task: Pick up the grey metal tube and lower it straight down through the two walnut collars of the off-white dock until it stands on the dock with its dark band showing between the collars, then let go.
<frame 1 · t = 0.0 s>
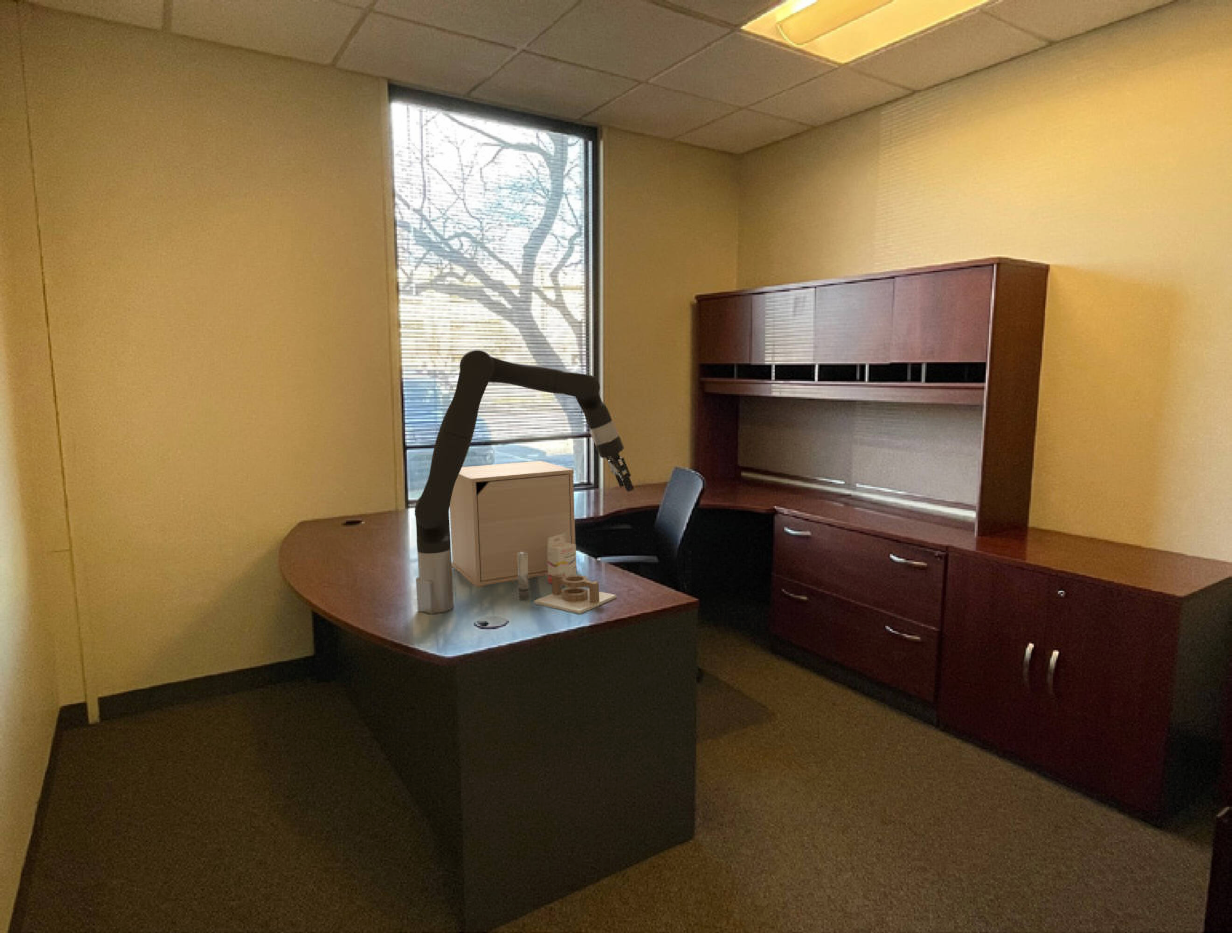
hand: (626, 488, 216), 31 cm above the table, tool tilted 20°, fingers open, 8 cm apart
cabinet: (512, 568, 248), on the table
ink cartridge box: (562, 581, 231), on the table
tube: (524, 598, 214), on the table
dock: (575, 600, 211), on the table
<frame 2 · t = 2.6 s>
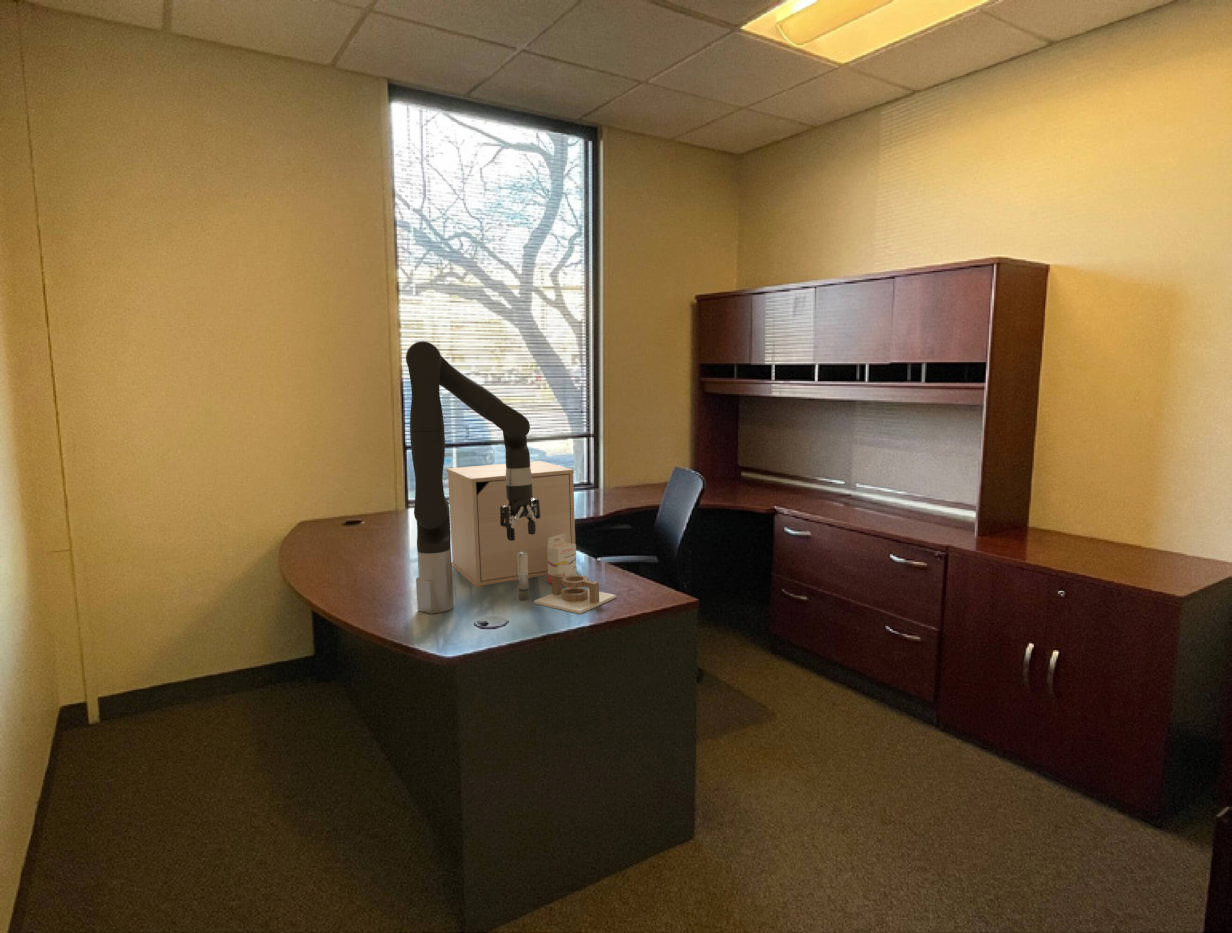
hand: (521, 537, 211), 19 cm above the table, tool pointing down, fingers open, 8 cm apart
nothing on the table moved.
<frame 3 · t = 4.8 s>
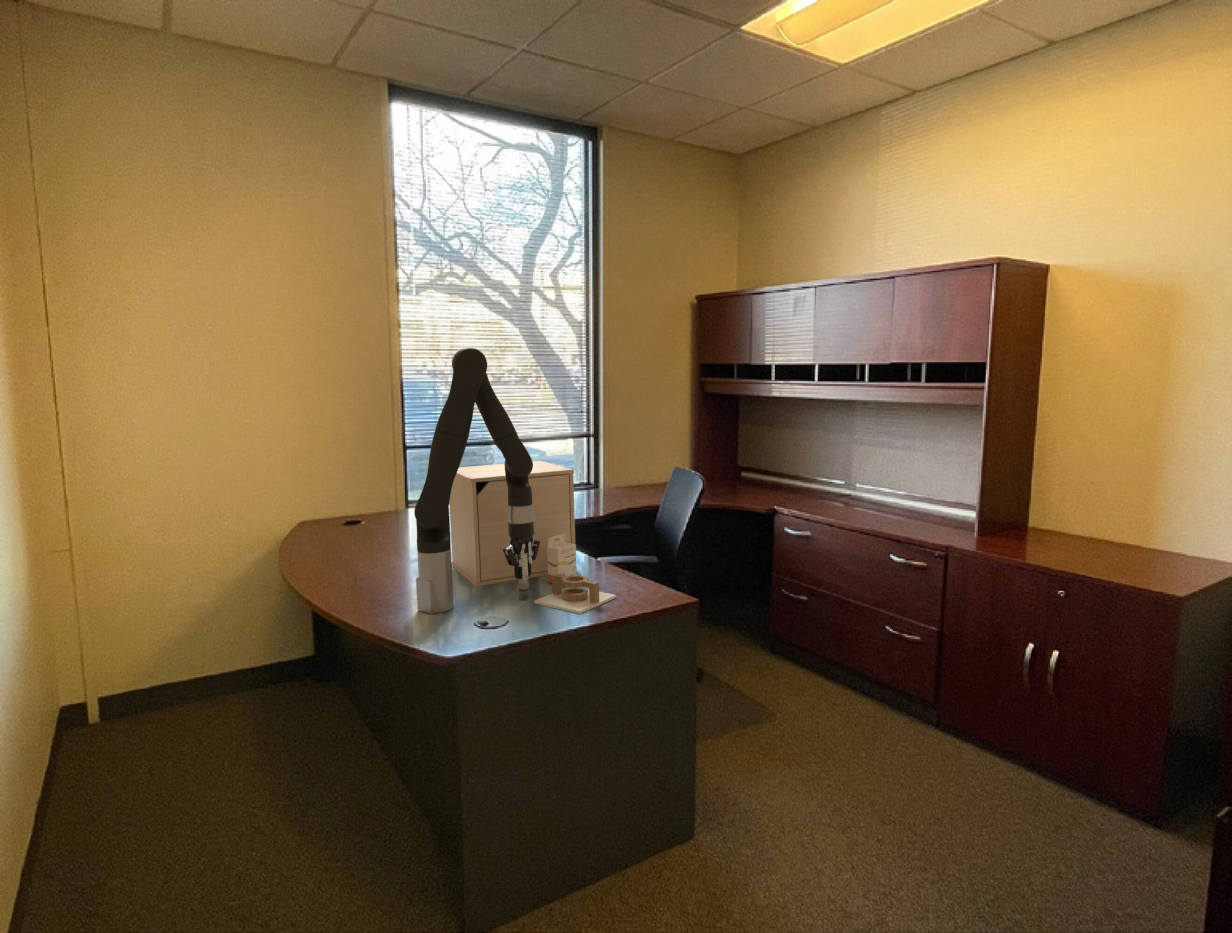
hand: (523, 577, 213), 7 cm above the table, tool pointing down, fingers closed on tube, 3 cm apart
tube: (524, 598, 214), on the table, touching gripper
everything else where it was.
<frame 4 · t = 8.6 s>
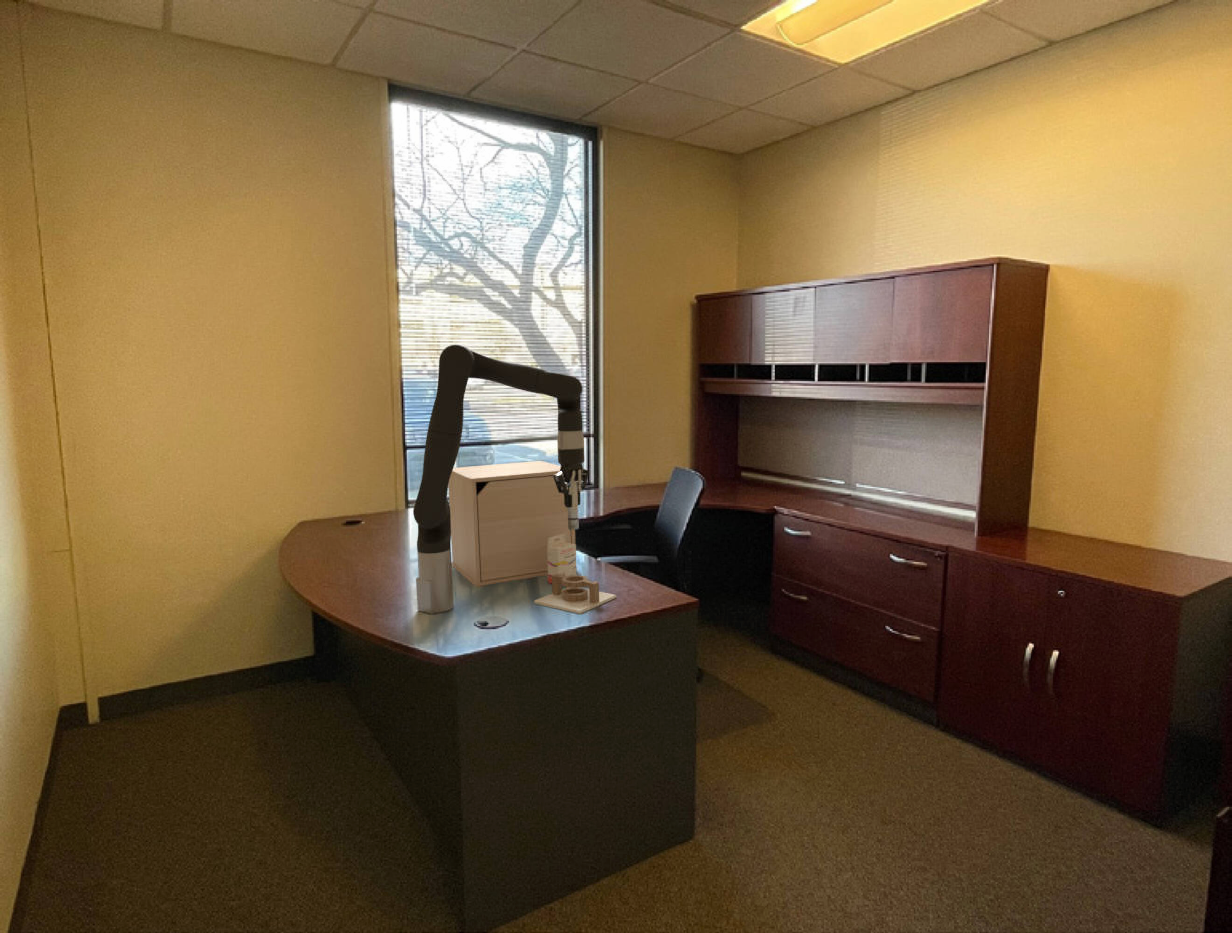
hand: (572, 505, 207), 28 cm above the table, tool pointing down, fingers closed on tube, 3 cm apart
tube: (573, 528, 208), point 21 cm above the table, touching gripper
everything else where it was.
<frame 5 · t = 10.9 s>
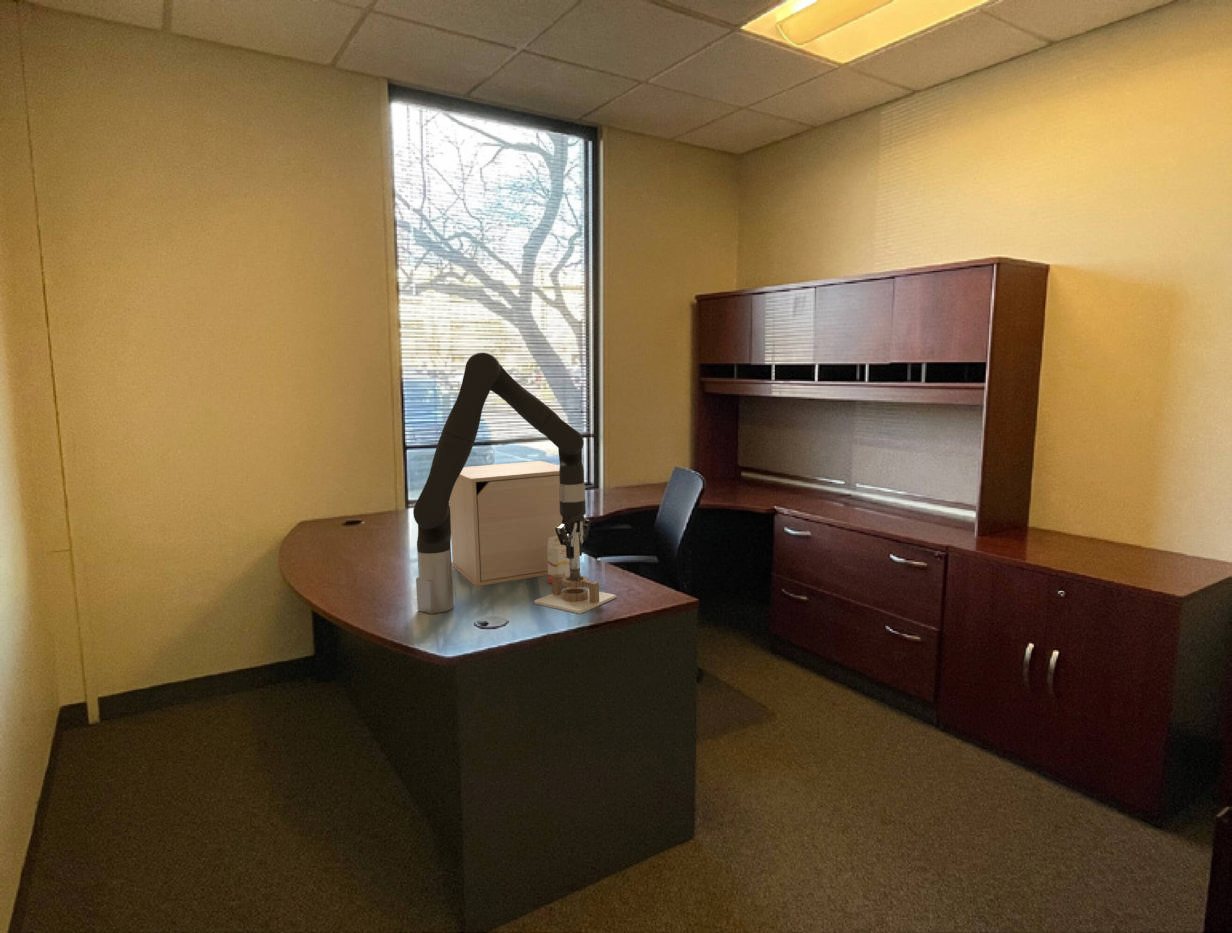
hand: (574, 556, 209), 13 cm above the table, tool pointing down, fingers closed on tube, 3 cm apart
tube: (575, 579, 210), point 6 cm above the table, touching gripper
everything else where it was.
when the fingers open (8 cm above the table, at t = 12.6 s): tube stays where it is, resting on dock.
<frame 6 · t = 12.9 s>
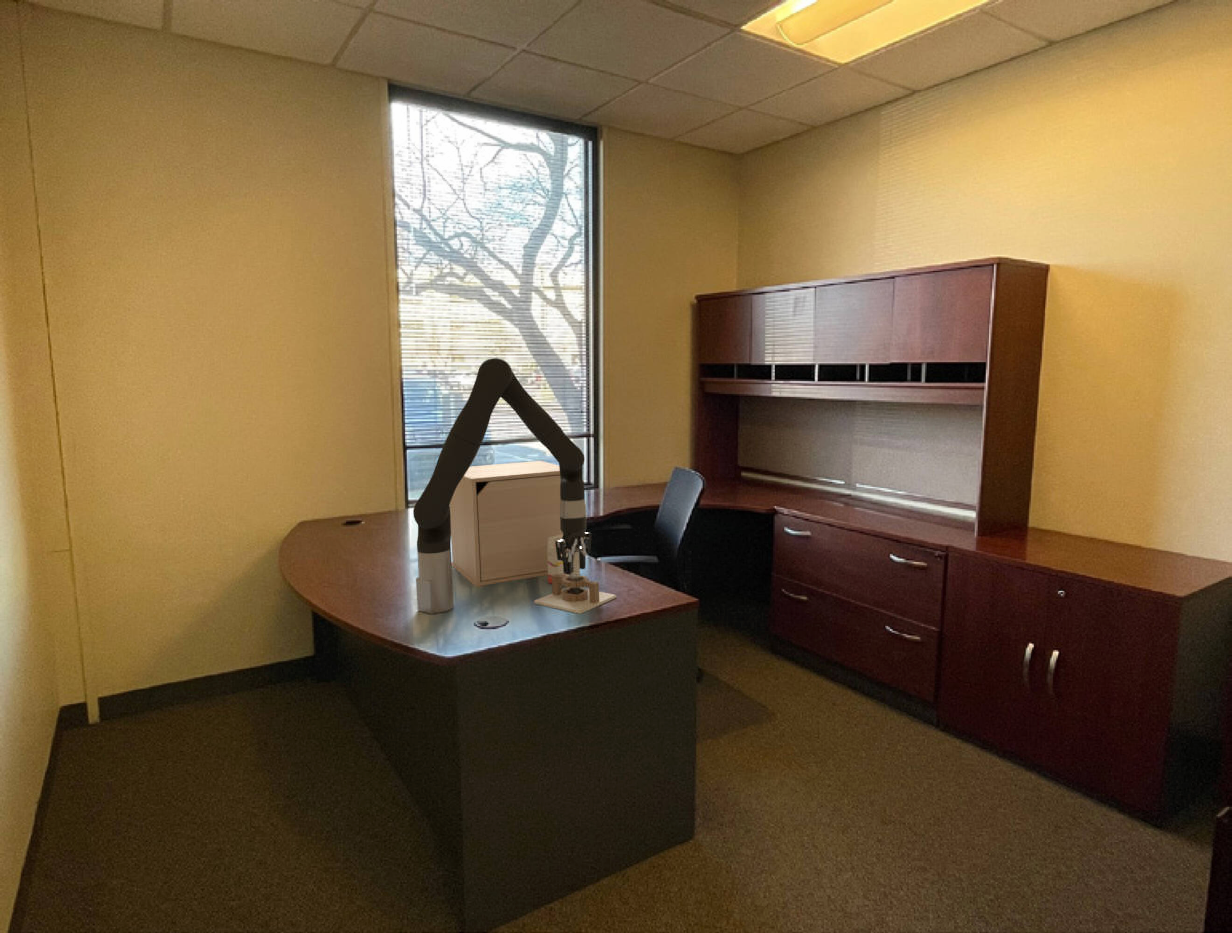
hand: (574, 571, 210), 9 cm above the table, tool pointing down, fingers open, 6 cm apart
tube: (575, 597, 211), point 1 cm above the table, touching dock
everything else where it was.
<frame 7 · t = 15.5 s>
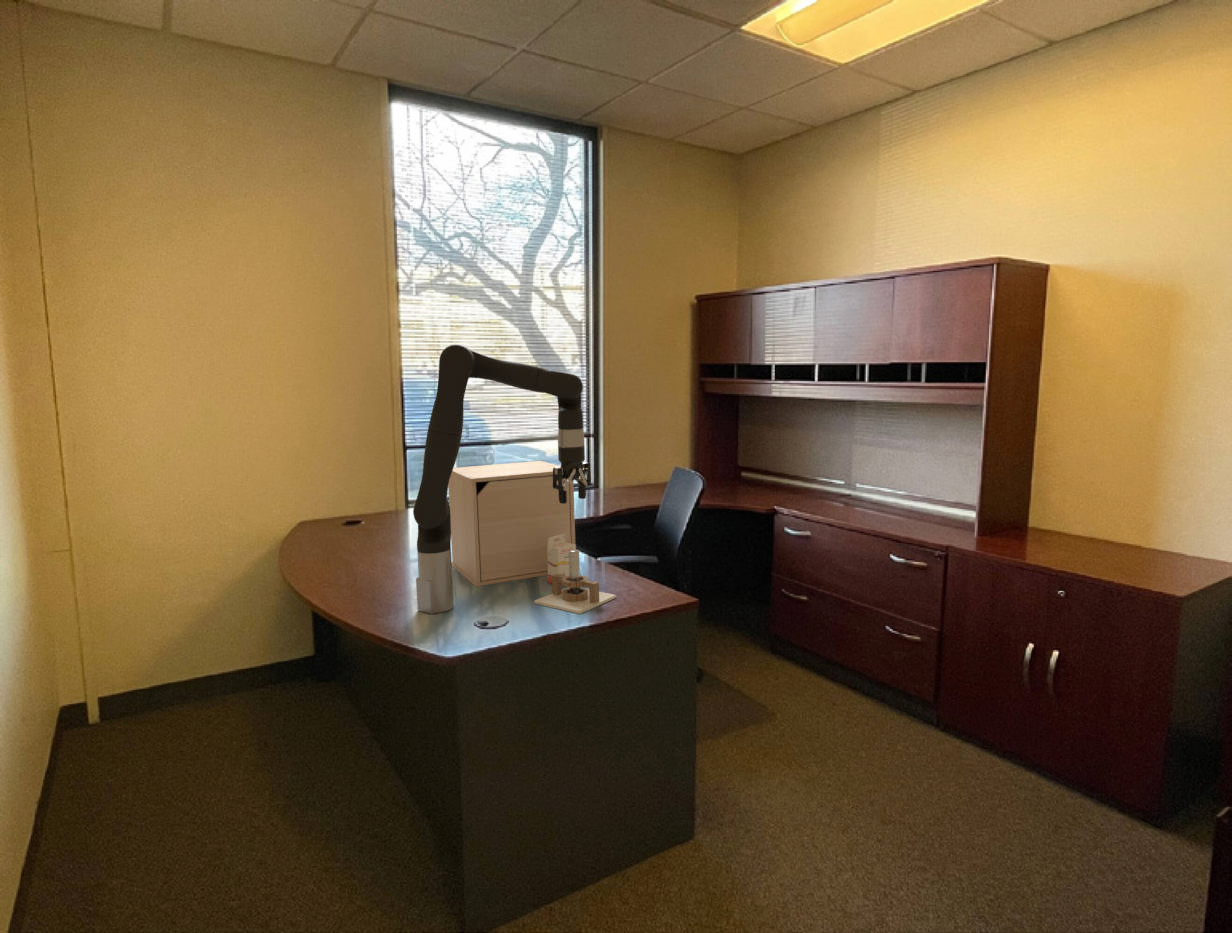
hand: (572, 500, 207), 30 cm above the table, tool pointing down, fingers open, 8 cm apart
nothing on the table moved.
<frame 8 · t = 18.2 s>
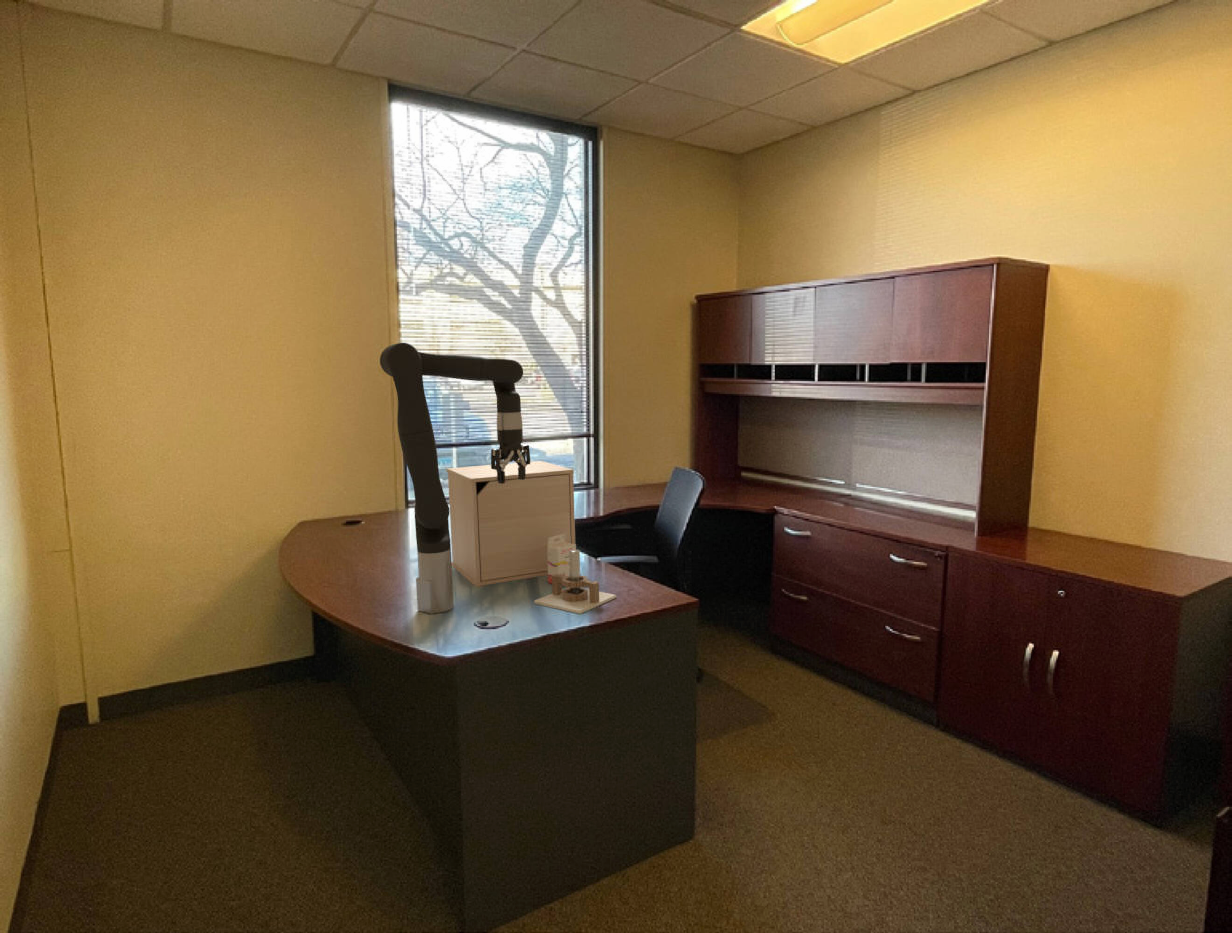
hand: (511, 481, 216), 34 cm above the table, tool pointing down, fingers open, 8 cm apart
nothing on the table moved.
at the end: tube 0.0 cm off-centre on the dock, point 0.8 cm above the dock's base; tube tilted 1°; the gripper is holding nothing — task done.
